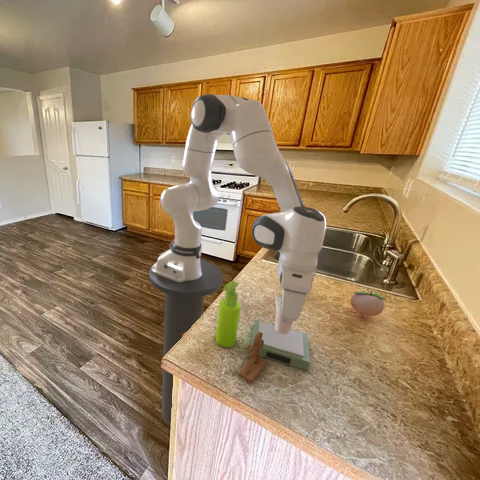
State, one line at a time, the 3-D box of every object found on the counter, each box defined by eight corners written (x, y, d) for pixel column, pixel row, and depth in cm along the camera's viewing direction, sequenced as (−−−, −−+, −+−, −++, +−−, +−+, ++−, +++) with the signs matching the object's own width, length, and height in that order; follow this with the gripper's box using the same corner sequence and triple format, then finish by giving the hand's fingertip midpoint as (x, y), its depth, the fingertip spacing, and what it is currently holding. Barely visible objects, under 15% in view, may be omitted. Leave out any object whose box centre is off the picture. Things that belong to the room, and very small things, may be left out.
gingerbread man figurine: (253, 356, 75) (259, 321, 70) (266, 364, 72) (274, 328, 68) (237, 374, 69) (243, 338, 64) (251, 383, 66) (258, 346, 62)
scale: (248, 353, 76) (250, 343, 74) (253, 327, 86) (255, 318, 85) (307, 372, 70) (310, 361, 69) (305, 341, 80) (307, 331, 79)
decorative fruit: (353, 321, 90) (362, 296, 86) (344, 307, 97) (351, 283, 94) (385, 325, 88) (395, 300, 84) (373, 311, 95) (382, 287, 92)
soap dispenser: (209, 342, 79) (216, 284, 72) (221, 330, 84) (228, 275, 77) (227, 352, 76) (235, 292, 68) (238, 340, 80) (247, 283, 73)
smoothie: (267, 321, 79) (276, 280, 74) (290, 324, 78) (300, 283, 73) (272, 336, 74) (281, 293, 68) (297, 339, 73) (308, 296, 67)
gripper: (283, 253, 79) (274, 292, 84) (281, 285, 61) (271, 332, 66) (306, 257, 76) (296, 297, 82) (312, 291, 59) (299, 340, 64)
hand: (285, 313), depth 74 cm, fingers closed on smoothie, 6 cm apart
